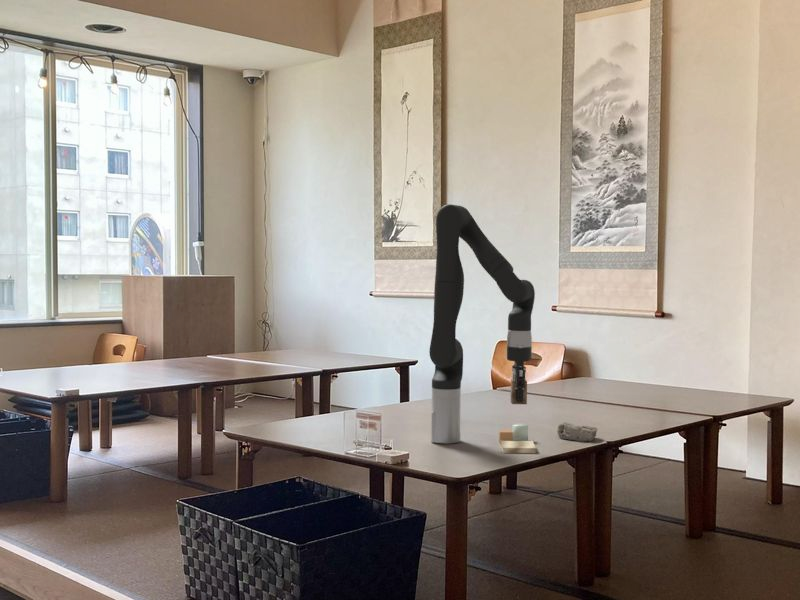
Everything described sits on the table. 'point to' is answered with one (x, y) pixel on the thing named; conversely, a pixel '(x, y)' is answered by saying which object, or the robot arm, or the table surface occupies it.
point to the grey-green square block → (520, 432)
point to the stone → (576, 432)
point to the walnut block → (513, 393)
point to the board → (518, 447)
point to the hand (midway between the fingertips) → (518, 400)
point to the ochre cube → (505, 435)
